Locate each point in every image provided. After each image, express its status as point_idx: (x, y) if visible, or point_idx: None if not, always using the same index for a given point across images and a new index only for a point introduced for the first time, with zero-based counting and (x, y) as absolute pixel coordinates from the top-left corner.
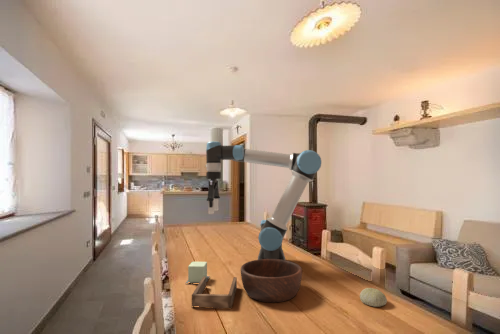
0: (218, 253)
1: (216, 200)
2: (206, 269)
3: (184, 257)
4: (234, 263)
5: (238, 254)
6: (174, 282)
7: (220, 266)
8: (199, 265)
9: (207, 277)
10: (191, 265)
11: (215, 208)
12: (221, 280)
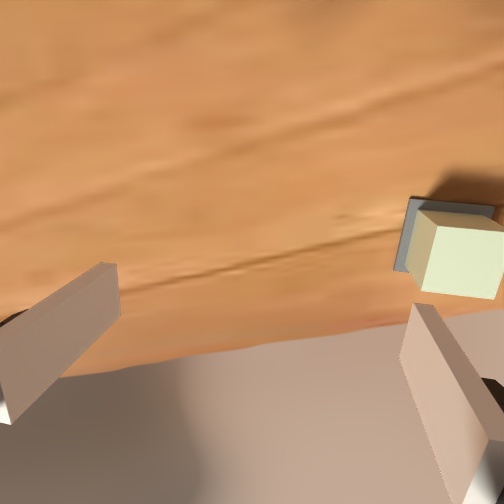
0: (82, 188)
1: (24, 358)
2: (439, 218)
3: (152, 316)
4: (228, 99)
5: (84, 86)
6: (441, 315)
7: (270, 164)
8: (493, 254)
9: (425, 206)
10: (484, 288)
11: (104, 306)
12: (458, 145)
